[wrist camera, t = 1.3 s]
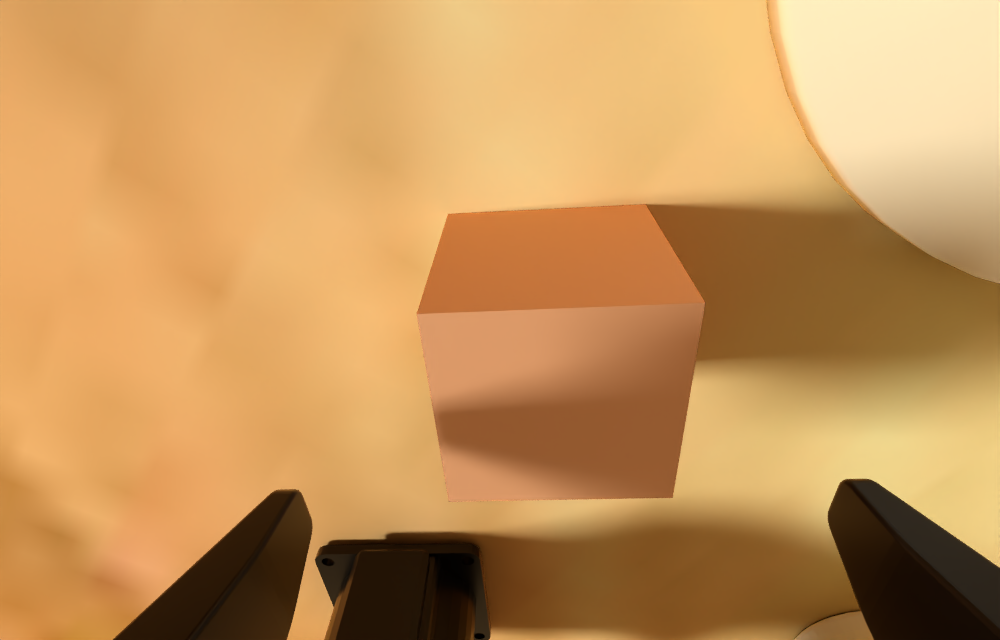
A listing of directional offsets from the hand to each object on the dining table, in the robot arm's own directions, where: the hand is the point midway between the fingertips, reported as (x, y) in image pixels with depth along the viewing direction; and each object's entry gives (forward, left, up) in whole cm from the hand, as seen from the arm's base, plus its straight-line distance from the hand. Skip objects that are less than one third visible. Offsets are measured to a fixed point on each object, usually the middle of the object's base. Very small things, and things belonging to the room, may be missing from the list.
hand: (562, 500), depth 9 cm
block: (0, 0, -7) cm, 7 cm away
